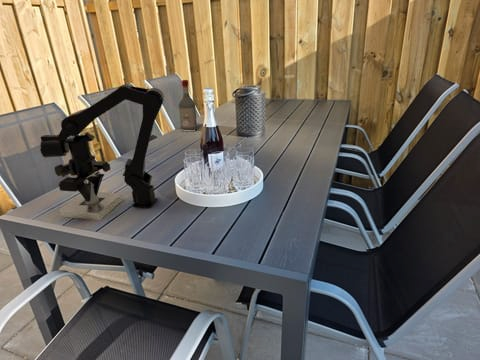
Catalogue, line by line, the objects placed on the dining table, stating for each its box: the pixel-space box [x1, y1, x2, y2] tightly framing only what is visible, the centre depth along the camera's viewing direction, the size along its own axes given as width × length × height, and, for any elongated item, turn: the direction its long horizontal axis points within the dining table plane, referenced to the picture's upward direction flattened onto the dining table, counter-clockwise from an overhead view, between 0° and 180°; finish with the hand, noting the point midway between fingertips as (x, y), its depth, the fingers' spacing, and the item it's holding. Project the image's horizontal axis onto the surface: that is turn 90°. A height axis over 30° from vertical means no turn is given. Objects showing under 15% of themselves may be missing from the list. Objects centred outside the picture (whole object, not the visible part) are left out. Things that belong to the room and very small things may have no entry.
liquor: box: [178, 79, 198, 130], centre depth 194 cm, size 9×9×30 cm
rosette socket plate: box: [59, 191, 124, 221], centre depth 107 cm, size 14×14×2 cm
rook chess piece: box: [85, 181, 100, 206], centre depth 106 cm, size 4×4×8 cm
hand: (91, 198), depth 107 cm, fingers closed on rook chess piece, 3 cm apart
